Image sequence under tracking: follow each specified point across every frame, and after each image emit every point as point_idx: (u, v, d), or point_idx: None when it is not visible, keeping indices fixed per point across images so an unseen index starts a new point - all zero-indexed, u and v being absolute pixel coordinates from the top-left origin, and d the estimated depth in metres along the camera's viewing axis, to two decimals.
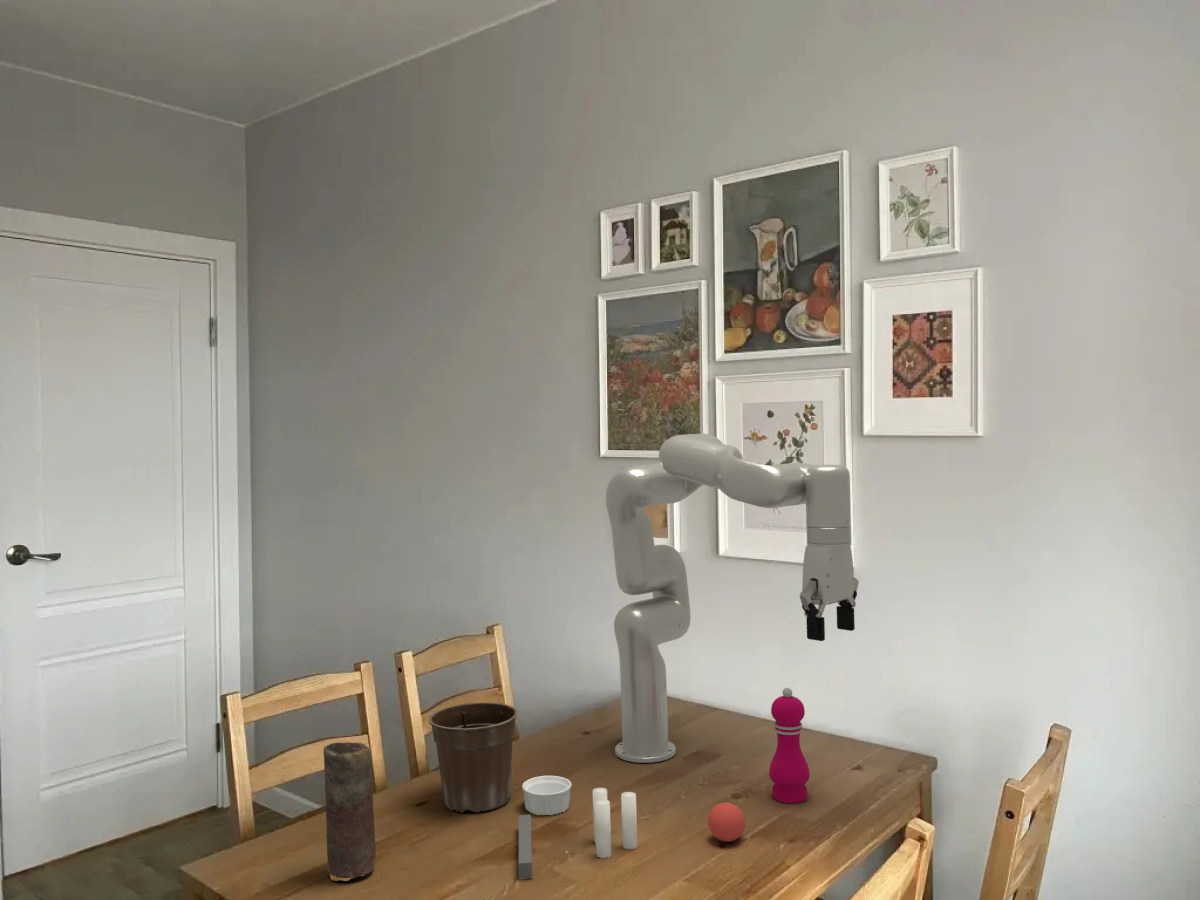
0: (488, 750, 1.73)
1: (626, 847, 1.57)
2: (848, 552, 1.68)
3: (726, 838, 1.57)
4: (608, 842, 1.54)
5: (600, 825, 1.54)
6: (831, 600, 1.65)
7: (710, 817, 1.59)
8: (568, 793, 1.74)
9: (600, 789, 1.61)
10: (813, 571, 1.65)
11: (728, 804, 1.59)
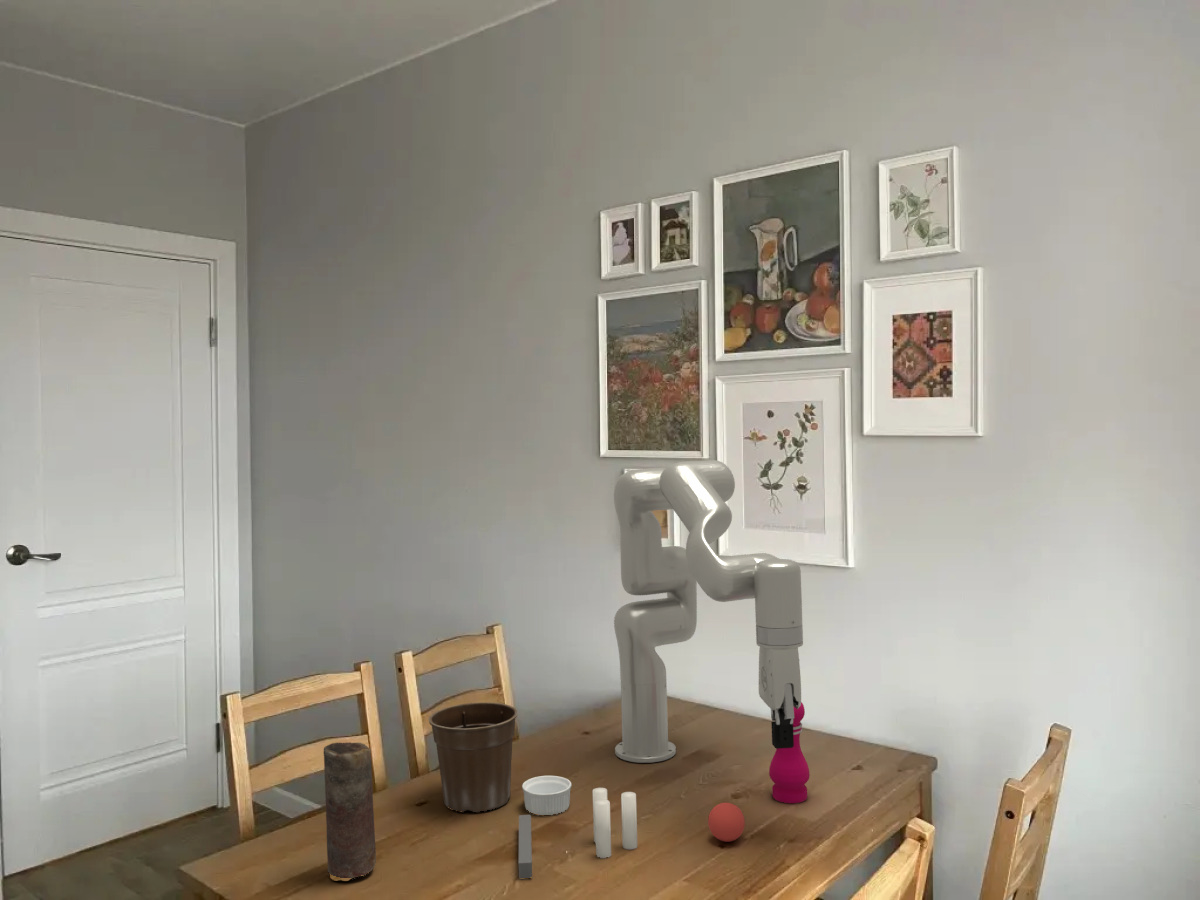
0: (488, 750, 1.73)
1: (626, 847, 1.57)
2: None
3: (726, 838, 1.57)
4: (608, 842, 1.54)
5: (600, 825, 1.54)
6: None
7: (710, 817, 1.59)
8: (568, 793, 1.74)
9: (600, 789, 1.61)
10: (788, 676, 1.54)
11: (728, 804, 1.59)
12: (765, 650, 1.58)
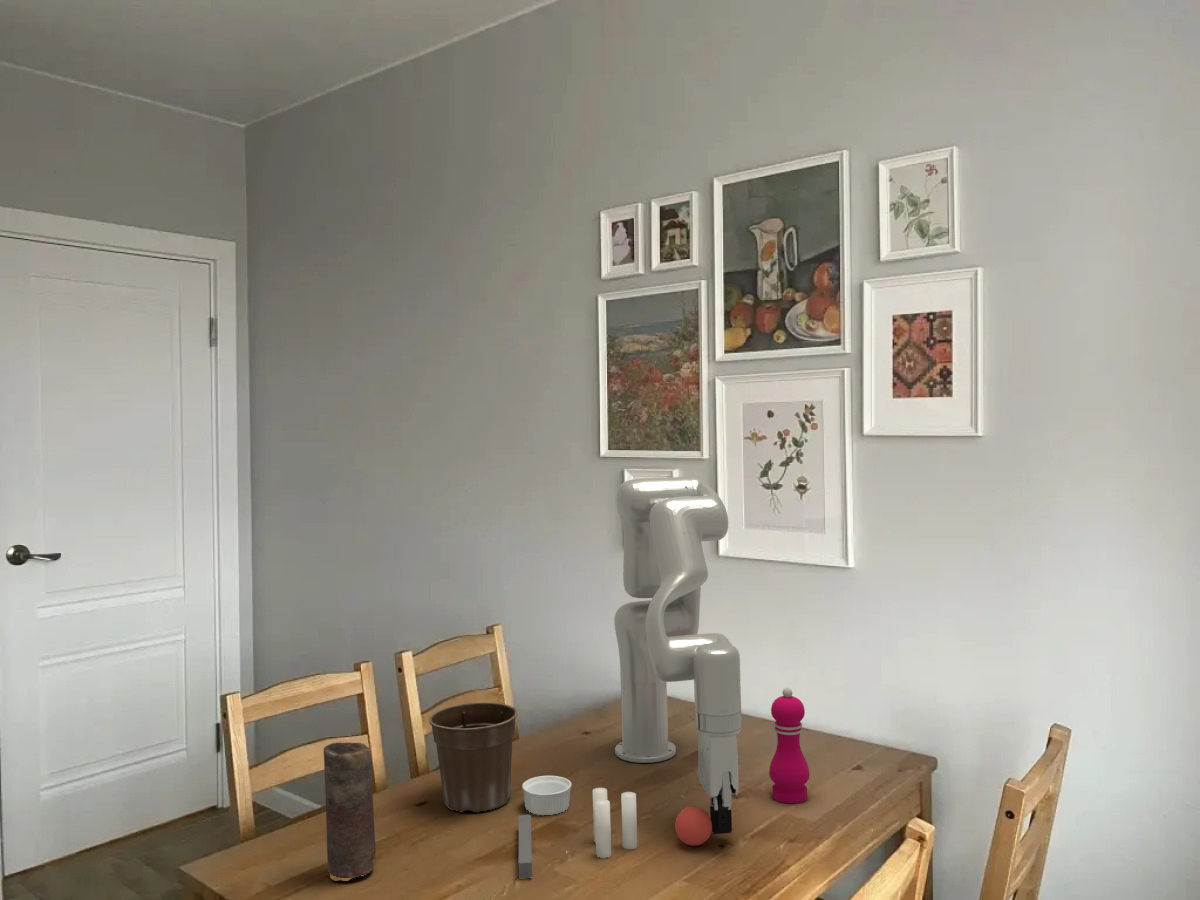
0: (488, 750, 1.73)
1: (626, 847, 1.57)
2: None
3: (708, 834, 1.56)
4: (608, 842, 1.54)
5: (600, 825, 1.54)
6: None
7: None
8: (568, 793, 1.74)
9: (600, 789, 1.61)
10: (725, 764, 1.54)
11: (676, 828, 1.57)
12: (703, 736, 1.57)
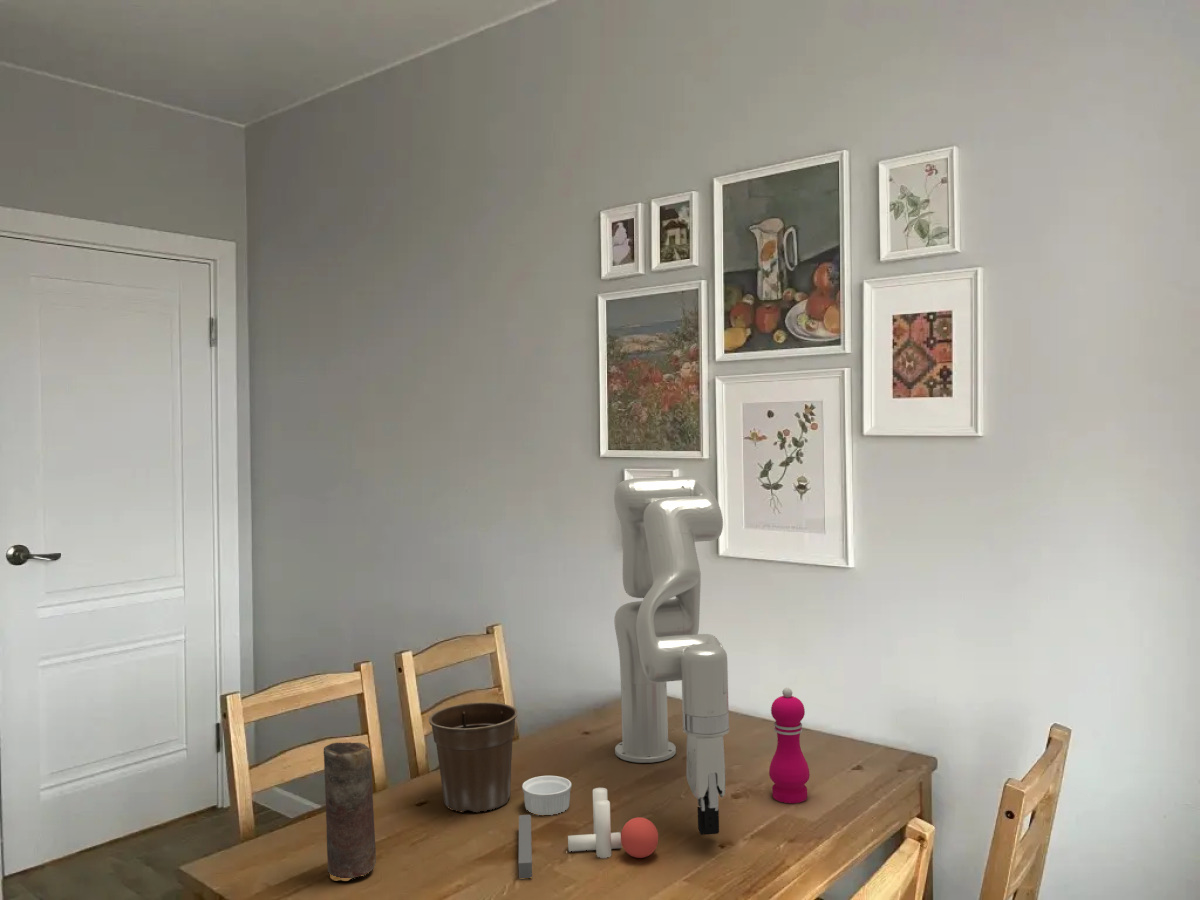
0: (488, 750, 1.73)
1: (619, 847, 1.57)
2: None
3: (635, 851, 1.52)
4: (608, 842, 1.54)
5: (600, 825, 1.54)
6: None
7: (648, 827, 1.53)
8: (568, 793, 1.74)
9: (600, 789, 1.61)
10: (711, 765, 1.54)
11: None
12: (691, 737, 1.57)
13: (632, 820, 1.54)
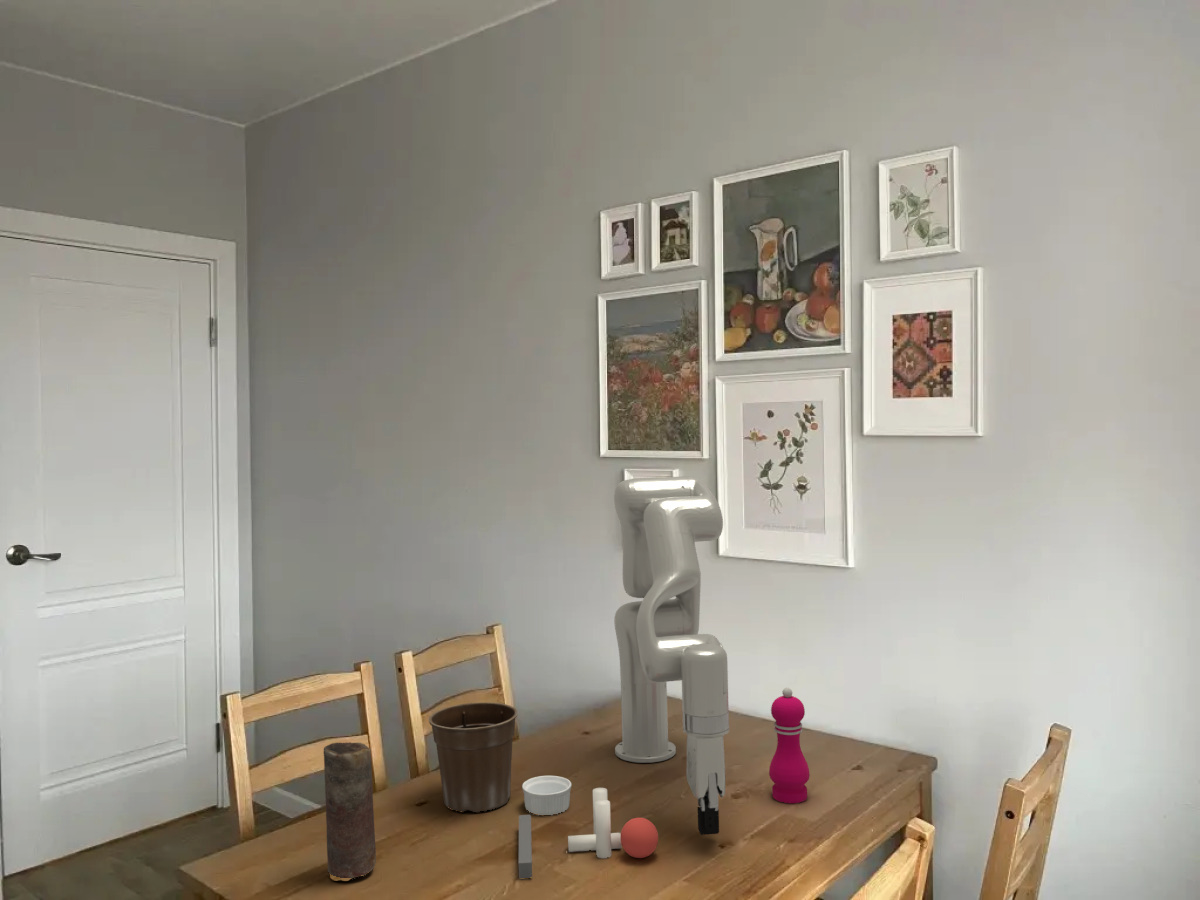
0: (488, 750, 1.73)
1: (619, 847, 1.57)
2: None
3: (635, 851, 1.52)
4: (608, 842, 1.54)
5: (600, 825, 1.54)
6: None
7: (648, 827, 1.53)
8: (568, 793, 1.74)
9: (600, 789, 1.60)
10: (711, 765, 1.54)
11: None
12: (691, 737, 1.57)
13: (632, 820, 1.54)
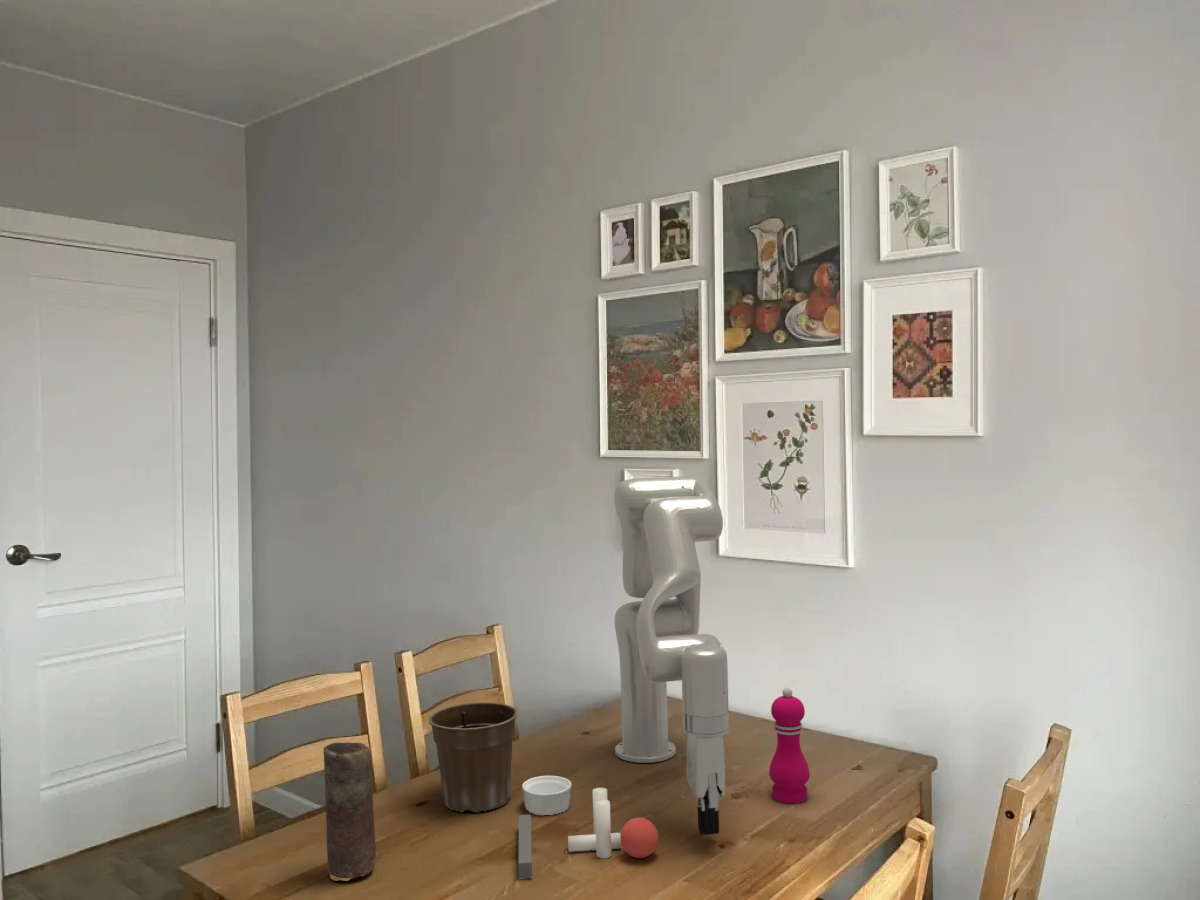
0: (488, 750, 1.73)
1: (619, 848, 1.57)
2: None
3: (635, 851, 1.52)
4: (608, 842, 1.54)
5: (600, 825, 1.54)
6: None
7: (648, 827, 1.53)
8: (568, 793, 1.74)
9: (600, 789, 1.61)
10: (711, 765, 1.54)
11: None
12: (691, 737, 1.57)
13: (632, 820, 1.54)
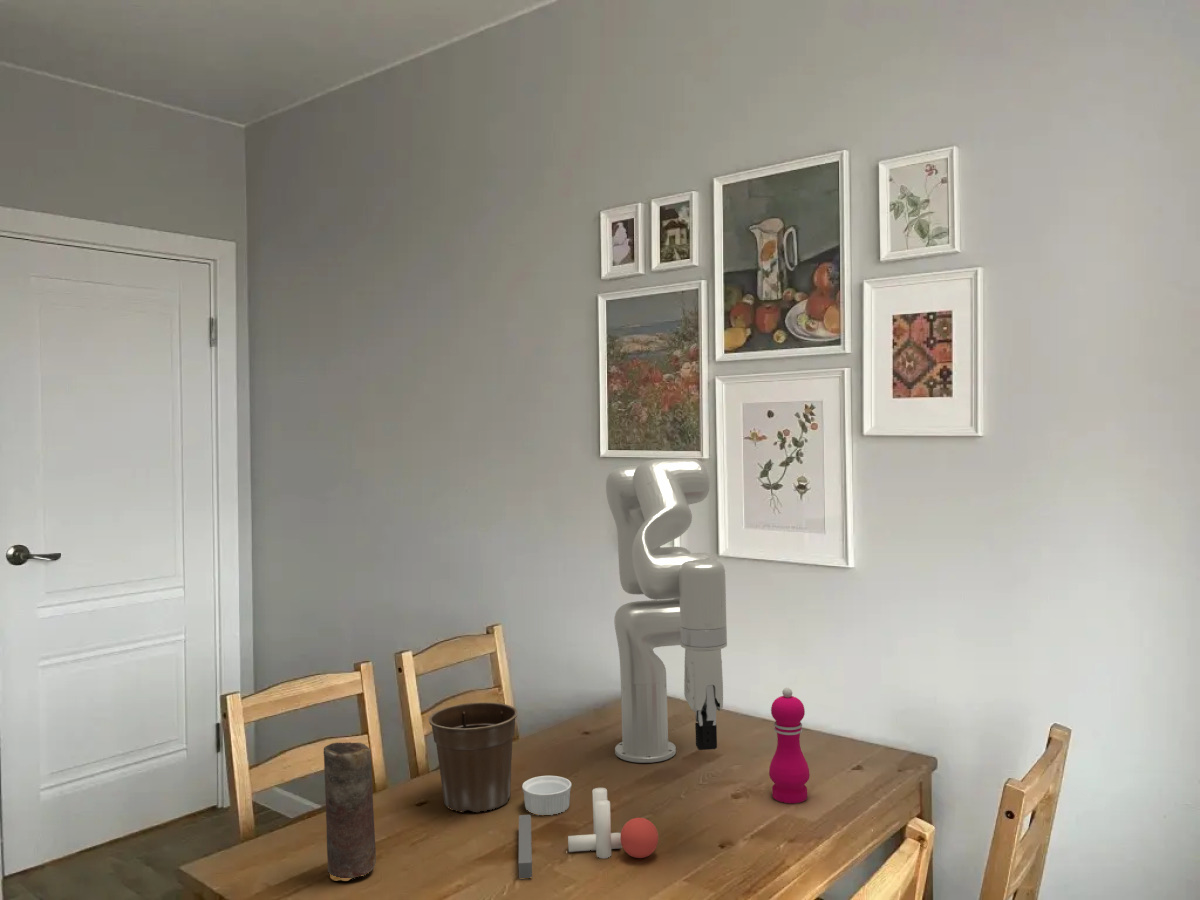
0: (488, 750, 1.73)
1: (618, 848, 1.57)
2: None
3: (635, 851, 1.52)
4: (608, 842, 1.54)
5: (600, 825, 1.54)
6: None
7: (648, 827, 1.53)
8: (568, 793, 1.74)
9: (600, 789, 1.61)
10: (709, 677, 1.53)
11: None
12: (688, 651, 1.57)
13: (632, 820, 1.54)
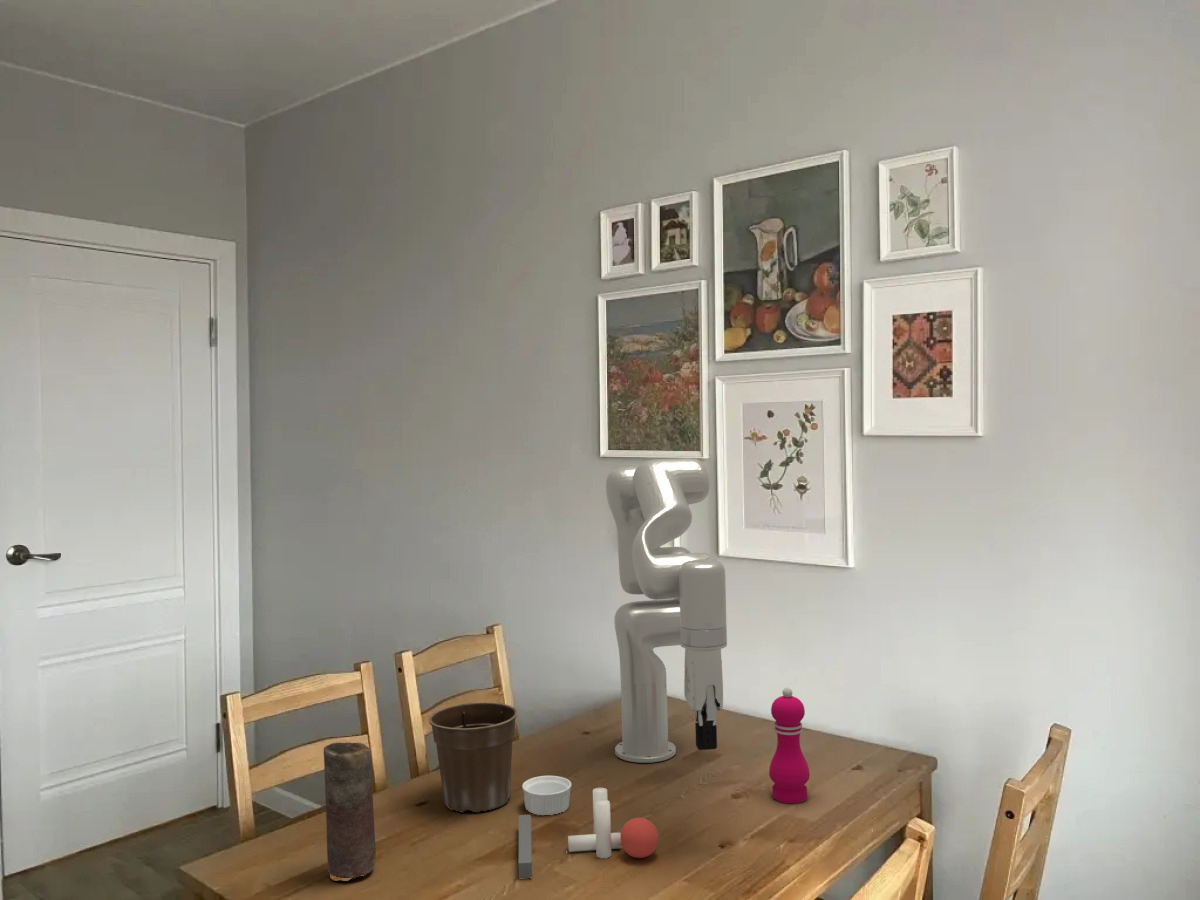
0: (488, 750, 1.73)
1: (619, 847, 1.57)
2: None
3: (635, 851, 1.52)
4: (608, 842, 1.54)
5: (600, 825, 1.54)
6: None
7: (648, 827, 1.53)
8: (568, 793, 1.74)
9: (600, 789, 1.61)
10: (709, 677, 1.53)
11: None
12: (688, 651, 1.57)
13: (632, 820, 1.54)
